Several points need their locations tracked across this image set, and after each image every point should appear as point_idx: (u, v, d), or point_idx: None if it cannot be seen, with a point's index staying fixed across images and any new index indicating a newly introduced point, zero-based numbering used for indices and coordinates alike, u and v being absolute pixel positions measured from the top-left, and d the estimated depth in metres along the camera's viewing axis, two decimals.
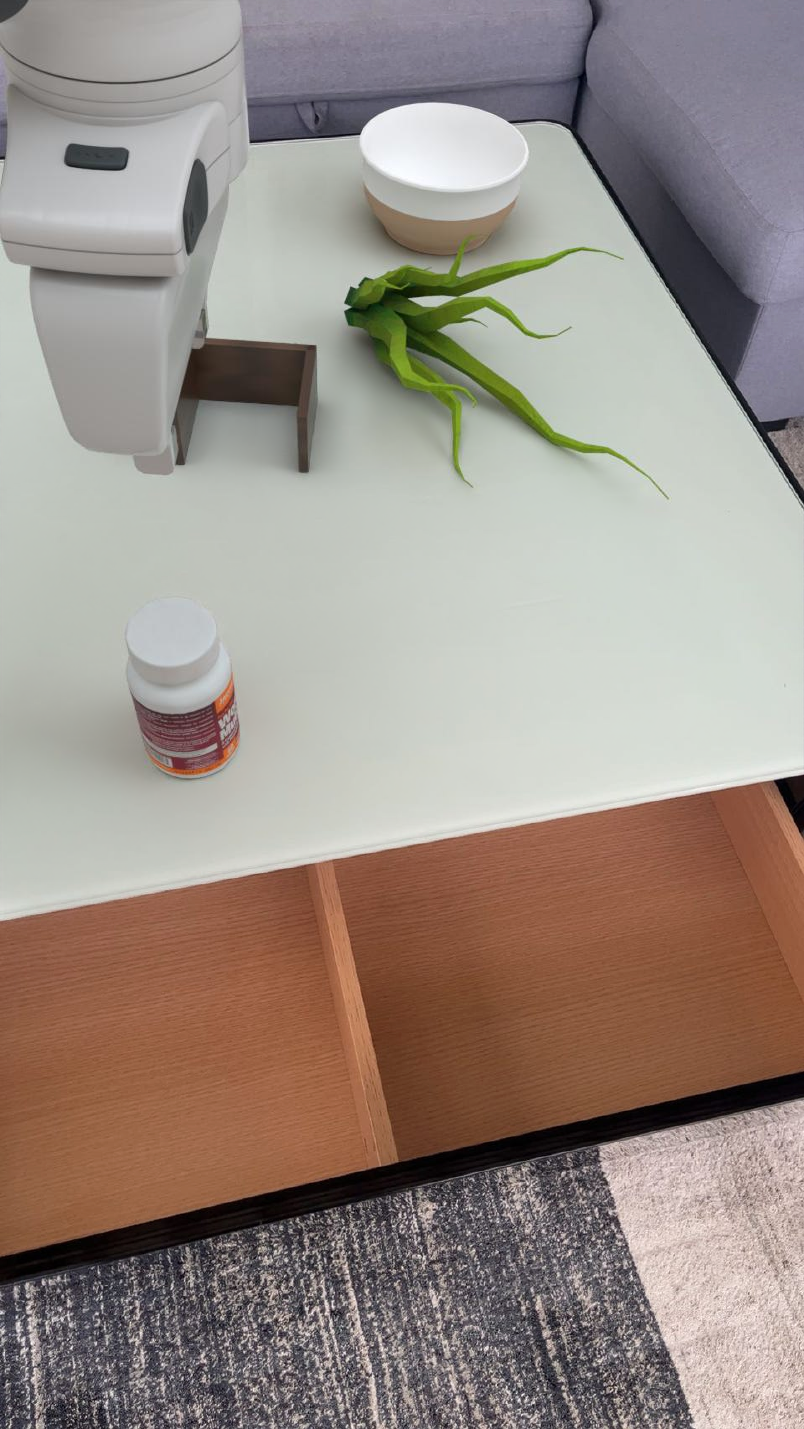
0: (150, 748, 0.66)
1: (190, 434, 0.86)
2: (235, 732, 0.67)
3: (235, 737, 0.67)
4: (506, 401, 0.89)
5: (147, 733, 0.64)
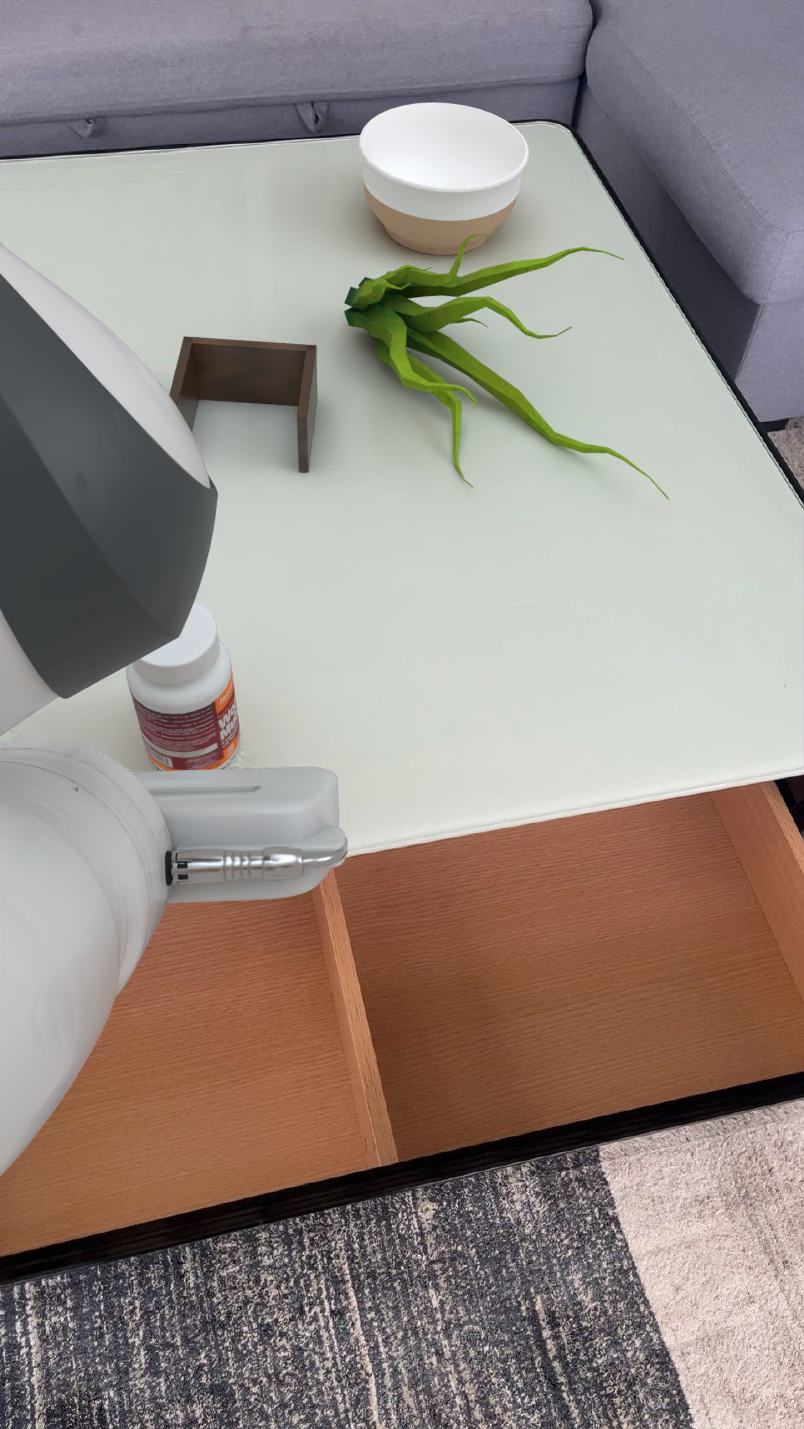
0: (150, 748, 0.66)
1: None
2: (235, 732, 0.67)
3: (235, 737, 0.67)
4: (506, 401, 0.89)
5: (147, 733, 0.64)
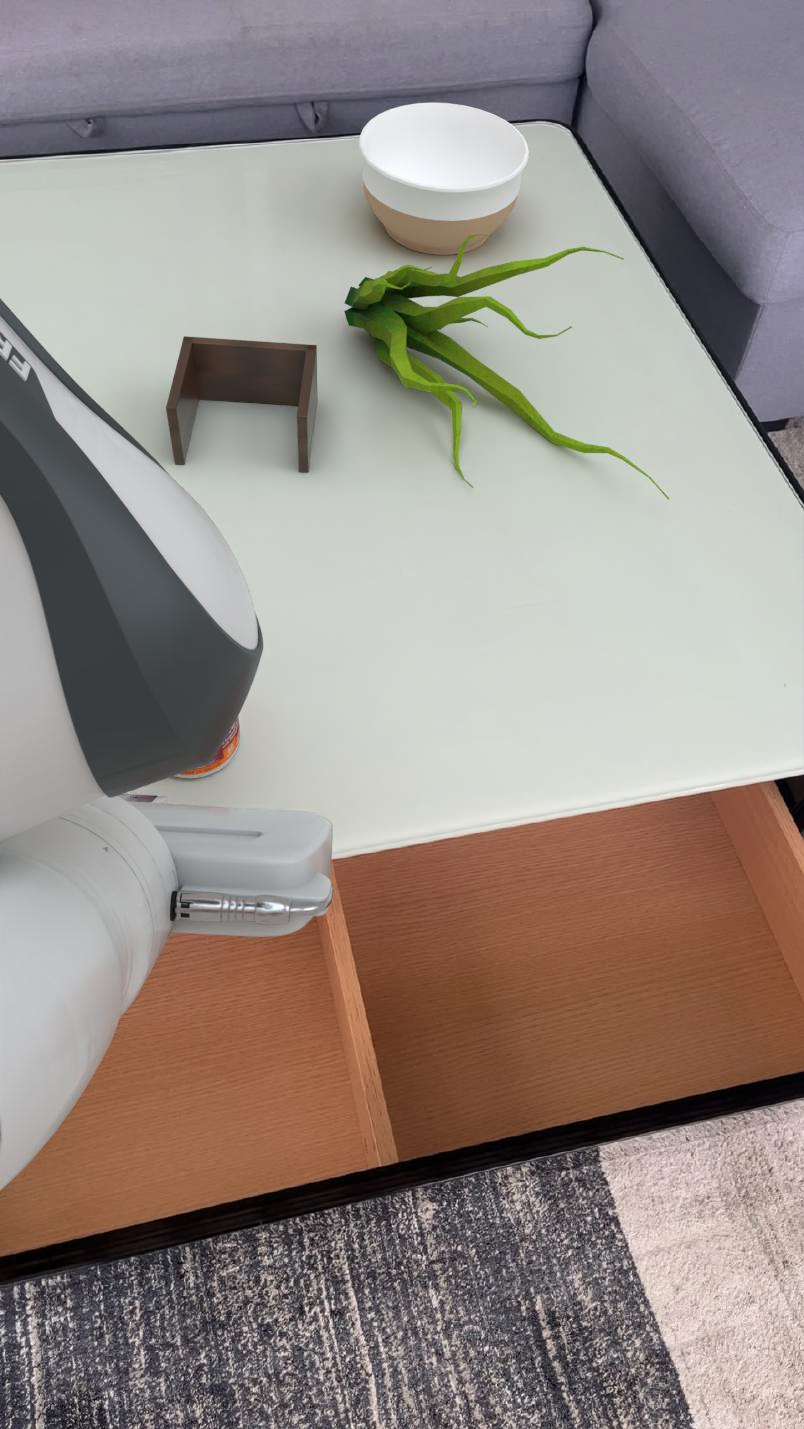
0: None
1: (190, 434, 0.86)
2: (235, 732, 0.67)
3: (235, 737, 0.67)
4: (506, 401, 0.89)
5: None
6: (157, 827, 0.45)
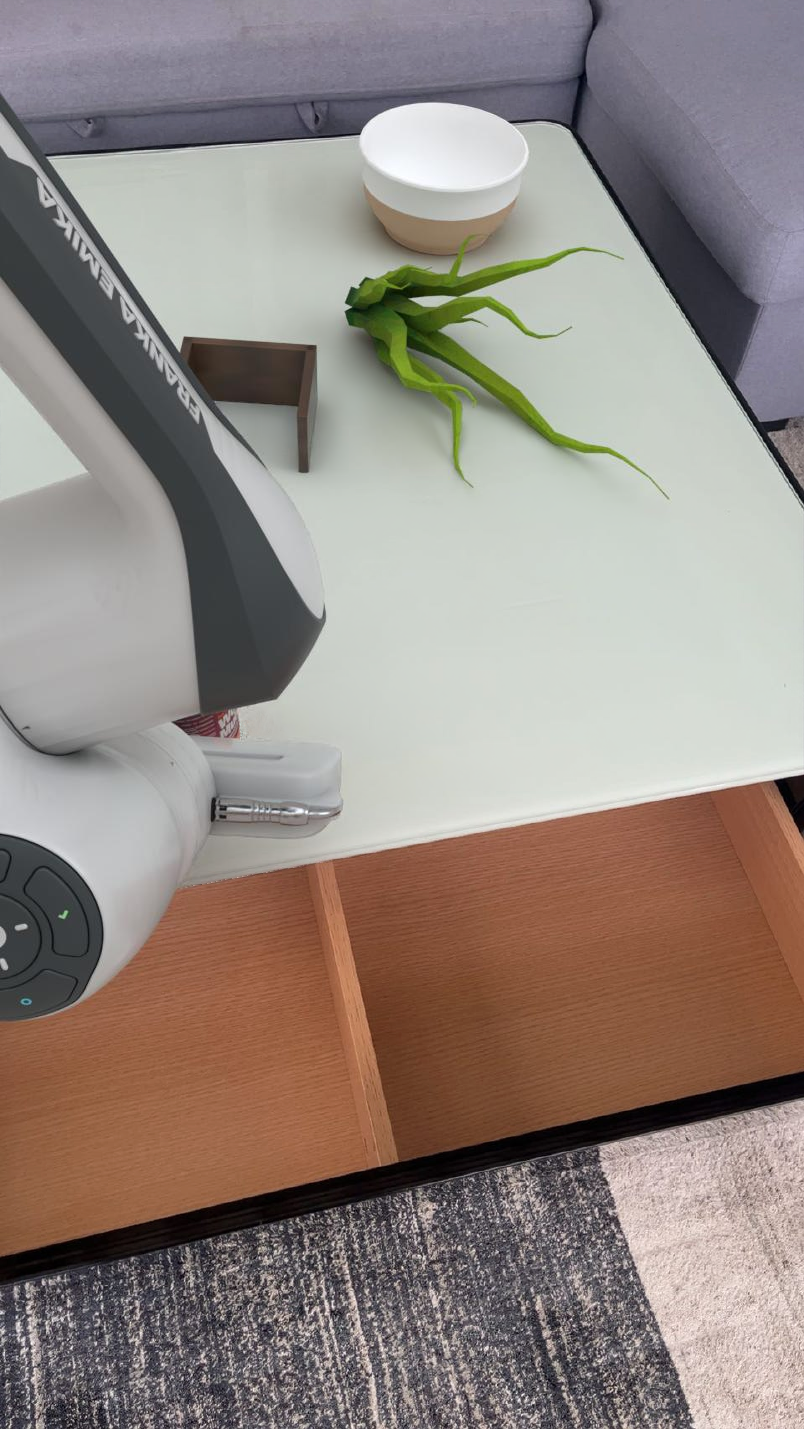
0: None
1: None
2: (235, 732, 0.67)
3: (235, 737, 0.67)
4: (506, 401, 0.89)
5: None
6: None
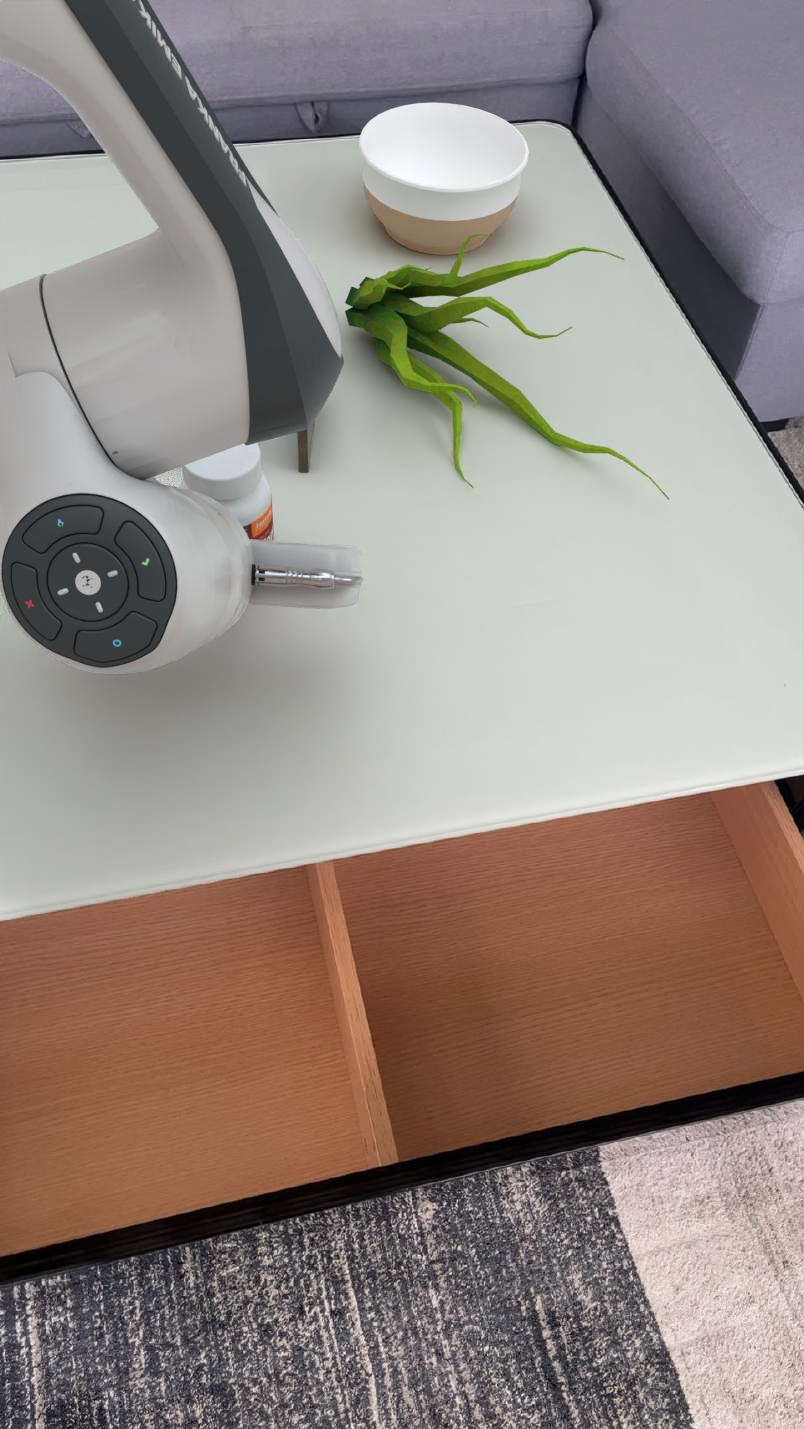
0: None
1: None
2: None
3: None
4: (507, 401, 0.89)
5: None
6: None
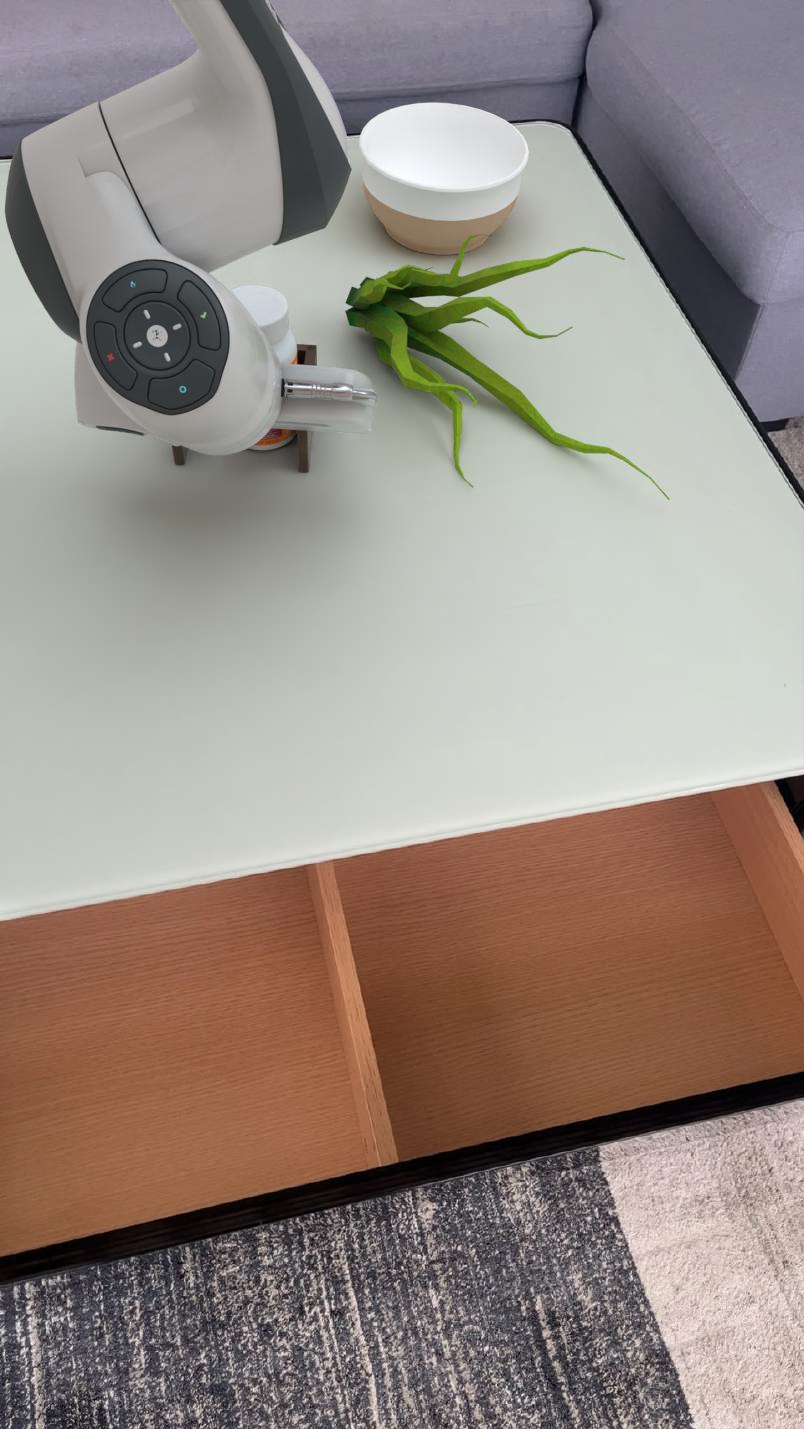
0: None
1: None
2: None
3: None
4: (507, 401, 0.89)
5: None
6: None
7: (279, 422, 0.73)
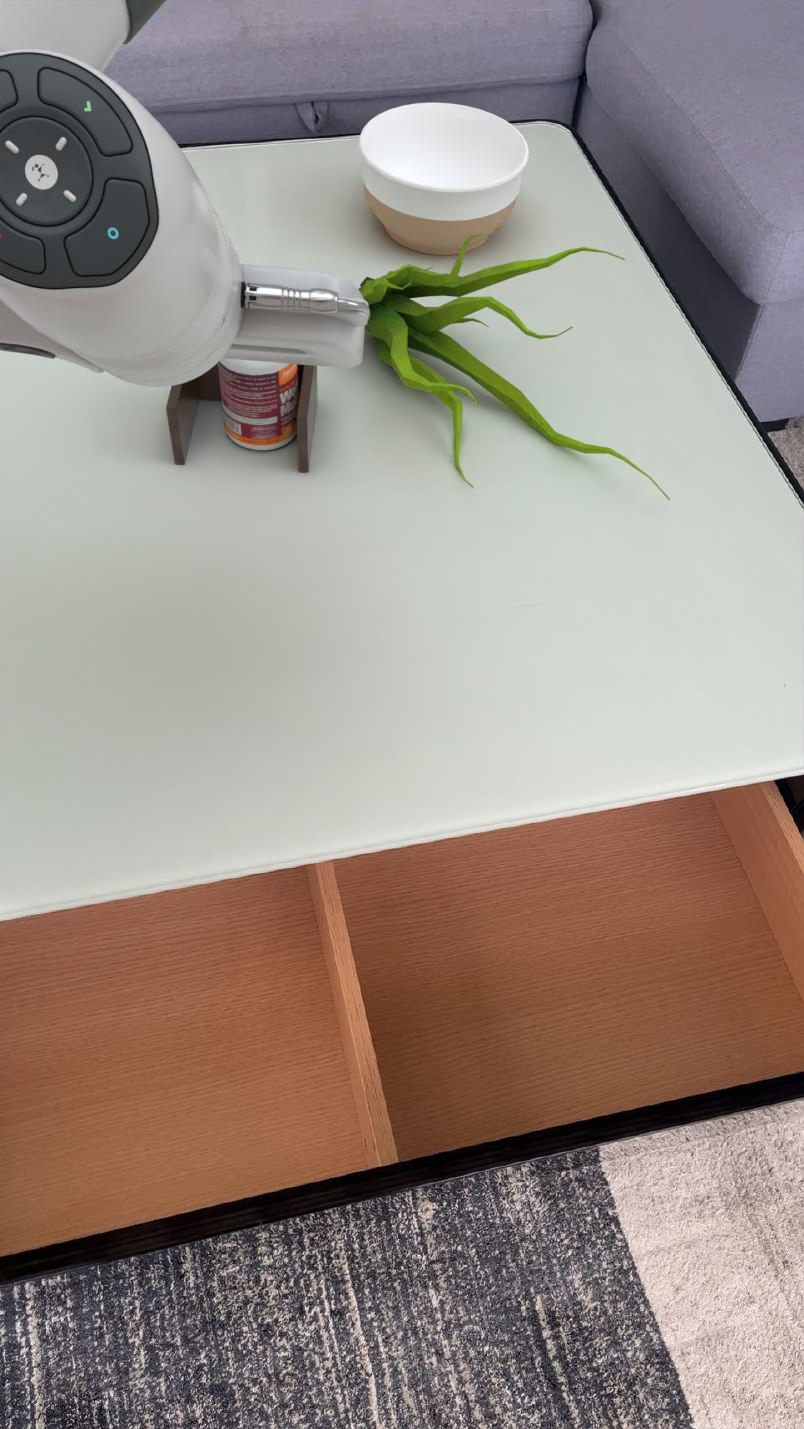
0: (226, 416, 0.84)
1: (190, 434, 0.86)
2: (294, 416, 0.84)
3: (293, 421, 0.85)
4: (507, 401, 0.89)
5: (225, 399, 0.82)
6: None
7: (240, 348, 0.55)
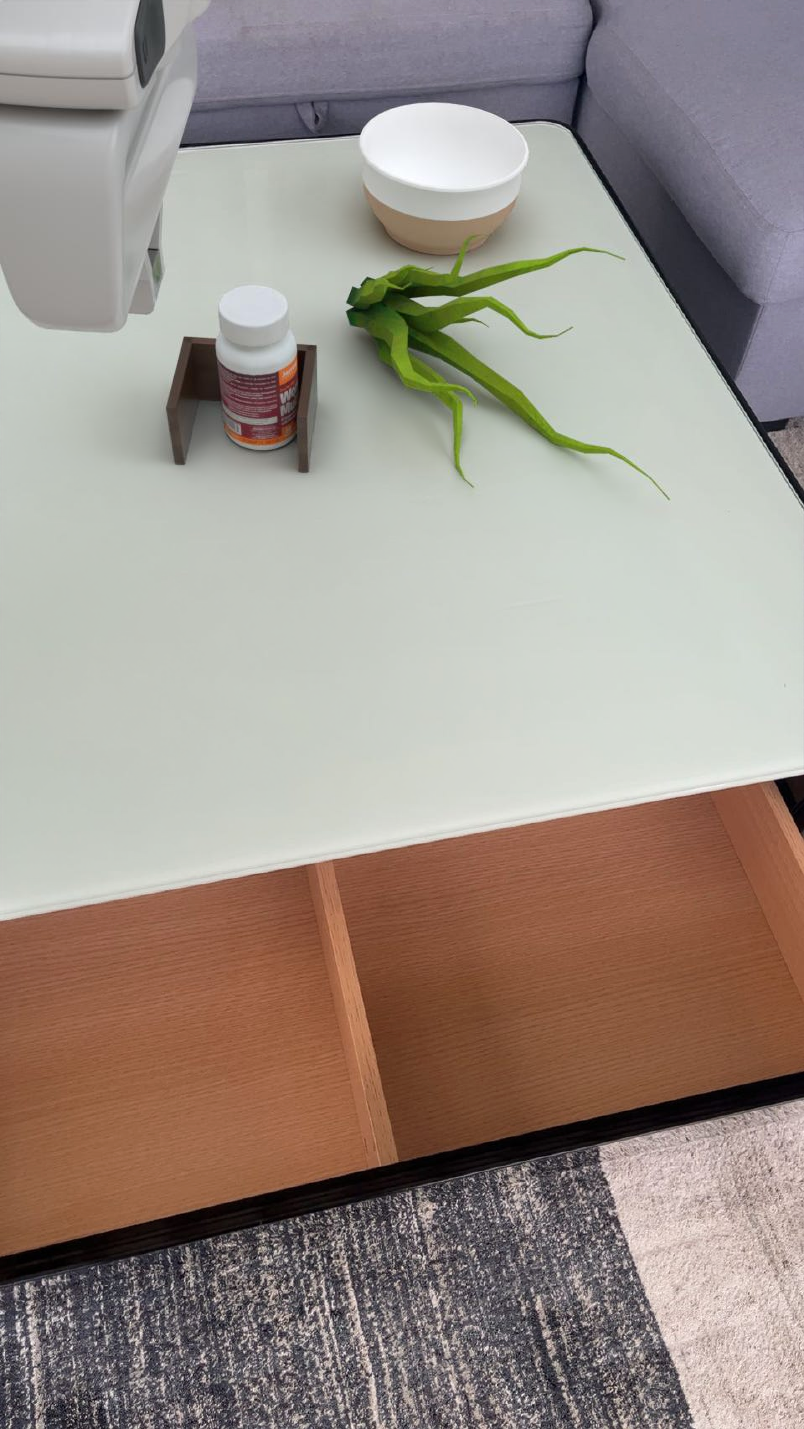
0: (226, 416, 0.84)
1: (190, 434, 0.86)
2: (294, 416, 0.84)
3: (293, 421, 0.85)
4: (507, 401, 0.89)
5: (225, 399, 0.82)
6: None
7: None
